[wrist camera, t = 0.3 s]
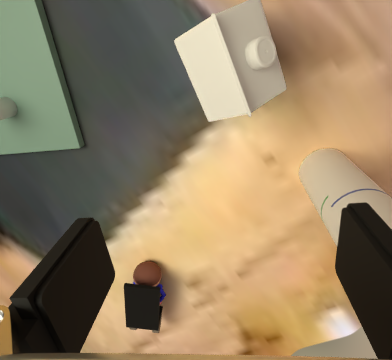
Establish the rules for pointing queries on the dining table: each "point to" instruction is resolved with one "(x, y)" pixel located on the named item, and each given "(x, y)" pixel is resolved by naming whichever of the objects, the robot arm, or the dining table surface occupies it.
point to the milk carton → (232, 61)
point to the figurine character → (144, 298)
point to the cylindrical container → (340, 188)
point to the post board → (32, 84)
